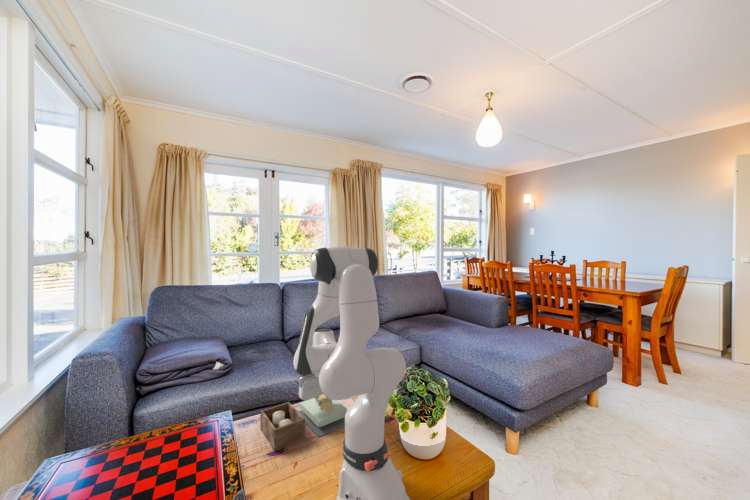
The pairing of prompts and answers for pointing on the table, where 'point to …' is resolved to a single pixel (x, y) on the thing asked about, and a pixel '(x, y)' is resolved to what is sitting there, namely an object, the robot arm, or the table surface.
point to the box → (282, 425)
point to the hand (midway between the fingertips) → (323, 403)
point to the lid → (323, 410)
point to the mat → (324, 429)
